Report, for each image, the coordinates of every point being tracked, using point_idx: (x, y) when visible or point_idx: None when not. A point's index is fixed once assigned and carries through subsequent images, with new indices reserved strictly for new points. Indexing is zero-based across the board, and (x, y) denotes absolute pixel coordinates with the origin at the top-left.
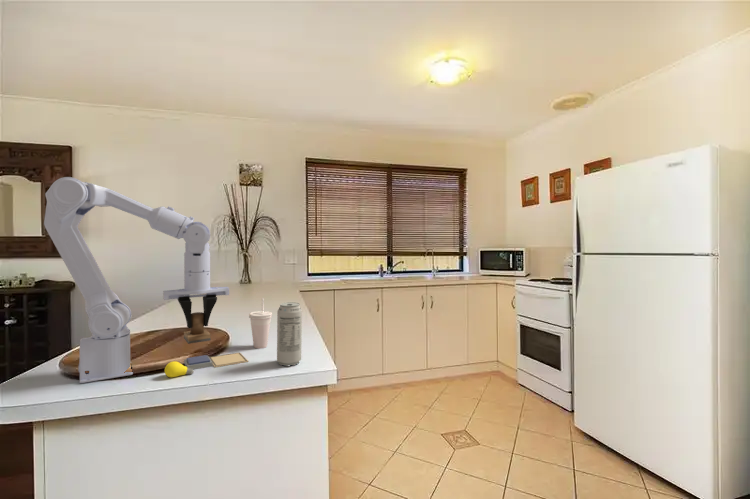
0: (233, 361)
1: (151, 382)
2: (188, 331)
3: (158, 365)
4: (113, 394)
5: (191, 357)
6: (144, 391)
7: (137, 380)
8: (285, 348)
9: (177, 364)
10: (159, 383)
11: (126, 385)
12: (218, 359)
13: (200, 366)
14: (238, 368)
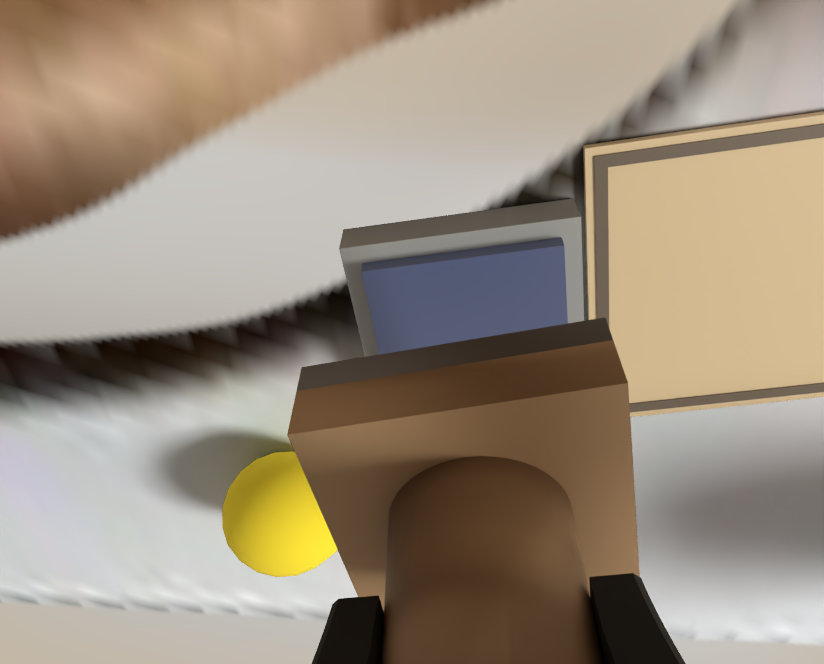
0: (770, 361)
1: (172, 517)
2: (355, 438)
3: (104, 192)
4: (18, 592)
5: (409, 271)
6: (173, 607)
7: (63, 461)
8: None
9: (310, 568)
10: (227, 544)
11: (28, 511)
12: (665, 258)
13: None
14: (748, 484)
